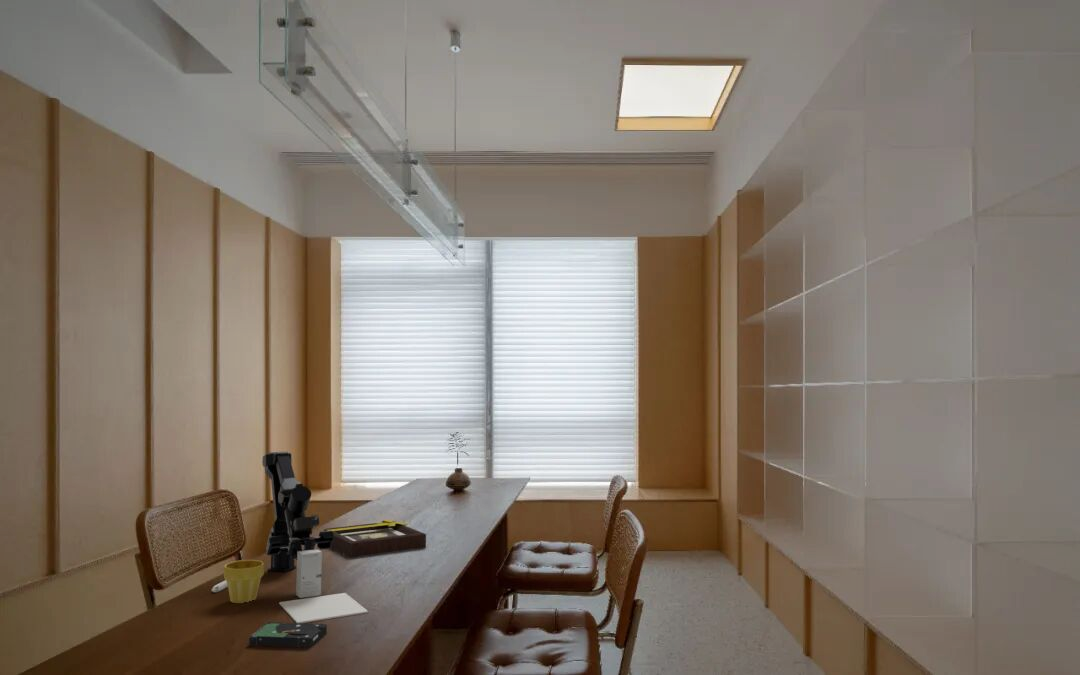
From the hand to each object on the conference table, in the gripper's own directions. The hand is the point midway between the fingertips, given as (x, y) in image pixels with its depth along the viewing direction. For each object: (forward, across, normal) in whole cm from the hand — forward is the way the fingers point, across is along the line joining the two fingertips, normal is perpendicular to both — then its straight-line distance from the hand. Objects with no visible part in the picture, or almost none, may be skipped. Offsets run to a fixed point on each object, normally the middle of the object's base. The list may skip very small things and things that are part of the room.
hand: (305, 567), depth 221 cm
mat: (+18, 0, -8) cm, 19 cm away
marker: (-8, -18, +19) cm, 27 cm away
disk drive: (+33, -14, -22) cm, 41 cm away
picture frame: (-30, +38, +40) cm, 63 cm away
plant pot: (+5, -17, +6) cm, 18 cm away
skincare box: (+8, 0, +2) cm, 8 cm away
